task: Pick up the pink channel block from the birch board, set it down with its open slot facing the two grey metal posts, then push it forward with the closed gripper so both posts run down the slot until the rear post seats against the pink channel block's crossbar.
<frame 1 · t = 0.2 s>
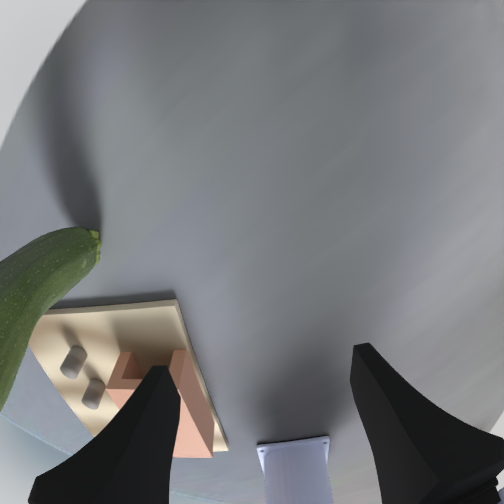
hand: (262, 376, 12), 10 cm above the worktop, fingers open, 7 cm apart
board: (126, 392, 26), on the worktop
vegetable: (89, 228, 19), on the worktop
pink channel block: (170, 392, 25), point 1 cm above the worktop, touching board
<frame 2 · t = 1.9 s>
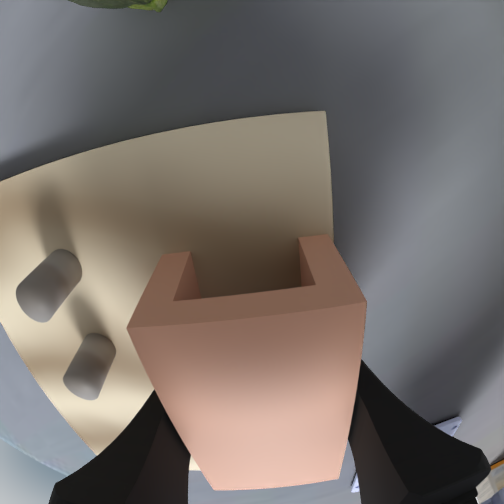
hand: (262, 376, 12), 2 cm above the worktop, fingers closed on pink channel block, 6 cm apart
board: (157, 365, 14), on the worktop
pink channel block: (260, 355, 13), point 1 cm above the worktop, touching board, gripper
supplement box: (495, 465, 28), on the worktop
when the fingers open (4 cm above the worktop, at t = 4.2 s): pink channel block stays where it is, resting on board.
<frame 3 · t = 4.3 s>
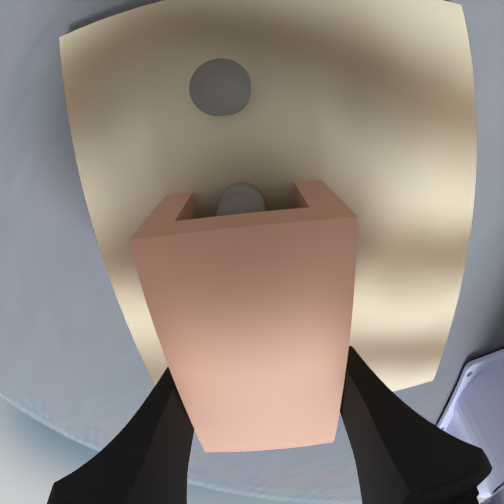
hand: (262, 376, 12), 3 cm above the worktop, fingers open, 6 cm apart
board: (298, 240, 13), on the worktop
pink channel block: (256, 305, 13), point 1 cm above the worktop, touching board
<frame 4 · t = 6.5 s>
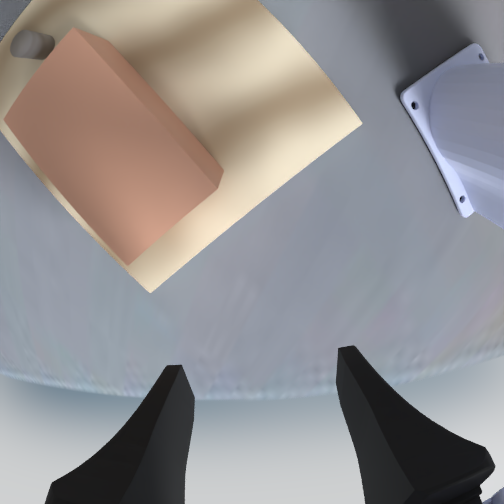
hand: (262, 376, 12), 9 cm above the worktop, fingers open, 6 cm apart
board: (128, 81, 15), on the worktop
pink channel block: (125, 136, 15), point 1 cm above the worktop, touching board
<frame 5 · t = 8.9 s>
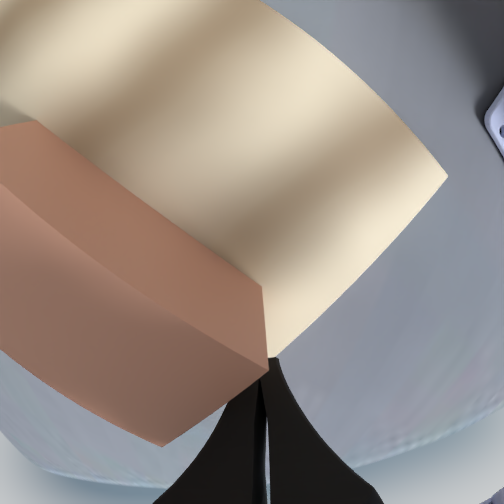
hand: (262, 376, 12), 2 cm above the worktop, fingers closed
board: (85, 173, 10), on the worktop
pink channel block: (104, 260, 11), point 1 cm above the worktop, touching board, gripper
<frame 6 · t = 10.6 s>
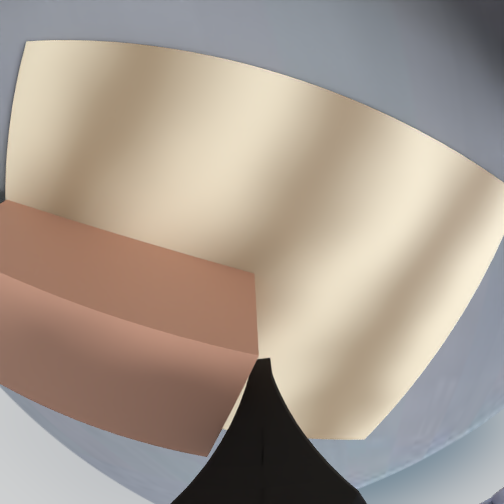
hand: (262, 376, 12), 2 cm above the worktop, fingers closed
board: (239, 297, 12), on the worktop
pink channel block: (107, 298, 11), point 1 cm above the worktop, touching board, gripper
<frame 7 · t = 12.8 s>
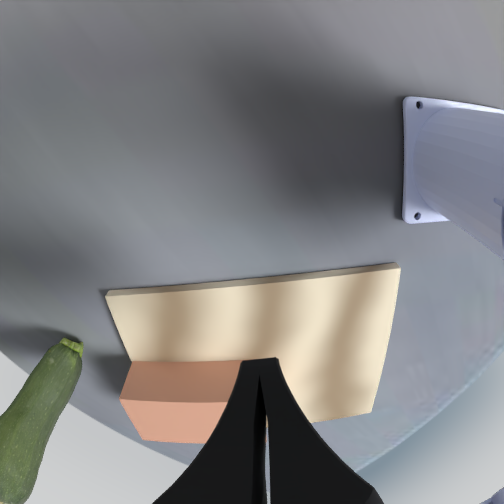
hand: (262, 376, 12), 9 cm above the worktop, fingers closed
board: (260, 365, 24), on the worktop
vegetable: (70, 341, 23), on the worktop
pink channel block: (200, 385, 24), point 1 cm above the worktop, touching board
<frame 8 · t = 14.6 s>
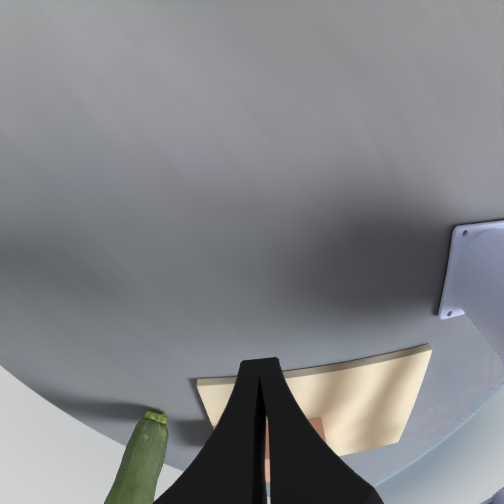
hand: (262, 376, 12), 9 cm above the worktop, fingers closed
board: (318, 419, 28), on the worktop
vegetable: (151, 411, 27), on the worktop
pink channel block: (269, 437, 27), point 1 cm above the worktop, touching board
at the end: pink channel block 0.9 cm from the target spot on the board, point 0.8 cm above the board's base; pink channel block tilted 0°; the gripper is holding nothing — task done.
